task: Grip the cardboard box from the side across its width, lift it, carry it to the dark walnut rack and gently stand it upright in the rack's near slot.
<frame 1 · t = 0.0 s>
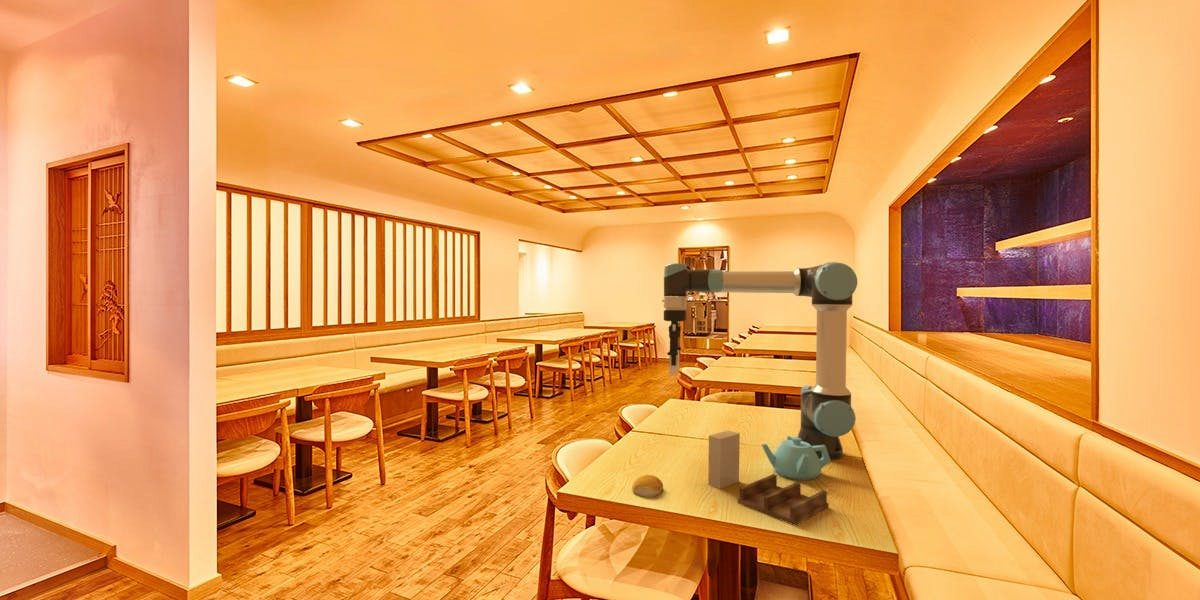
hand: (674, 372, 162), 28 cm above the table, tool pointing down, fingers open, 13 cm apart
bread roll: (647, 492, 132), on the table
teapot: (795, 473, 147), on the table
walnut rack: (782, 505, 124), on the table
cardboard box: (723, 483, 138), on the table
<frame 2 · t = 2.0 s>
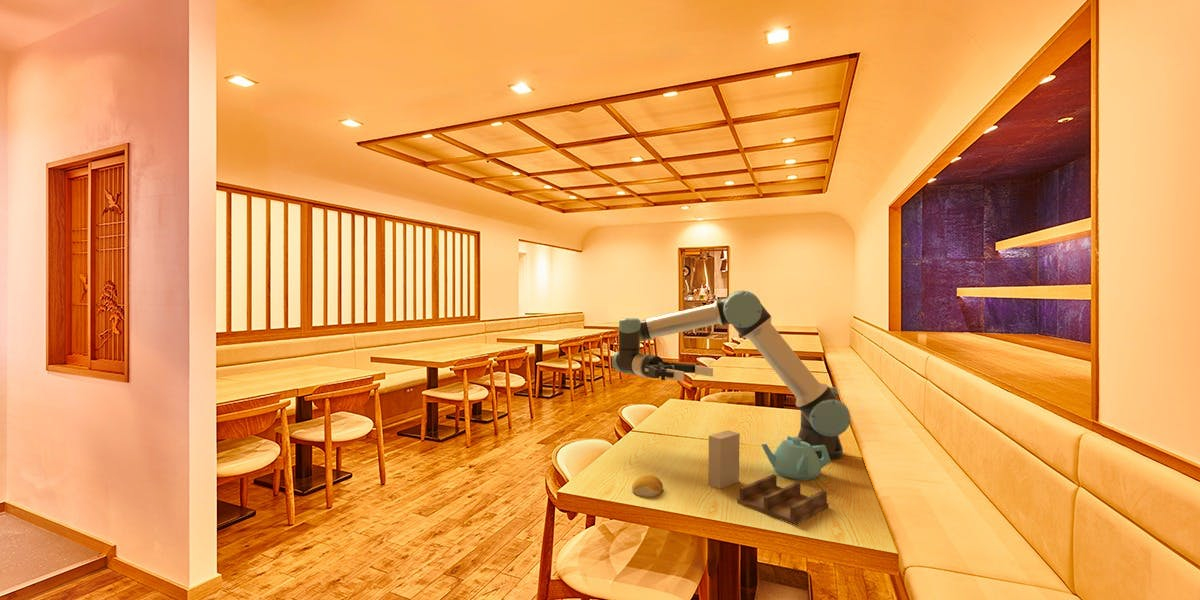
hand: (698, 374, 146), 30 cm above the table, tool horizontal, fingers open, 13 cm apart
nothing on the table moved.
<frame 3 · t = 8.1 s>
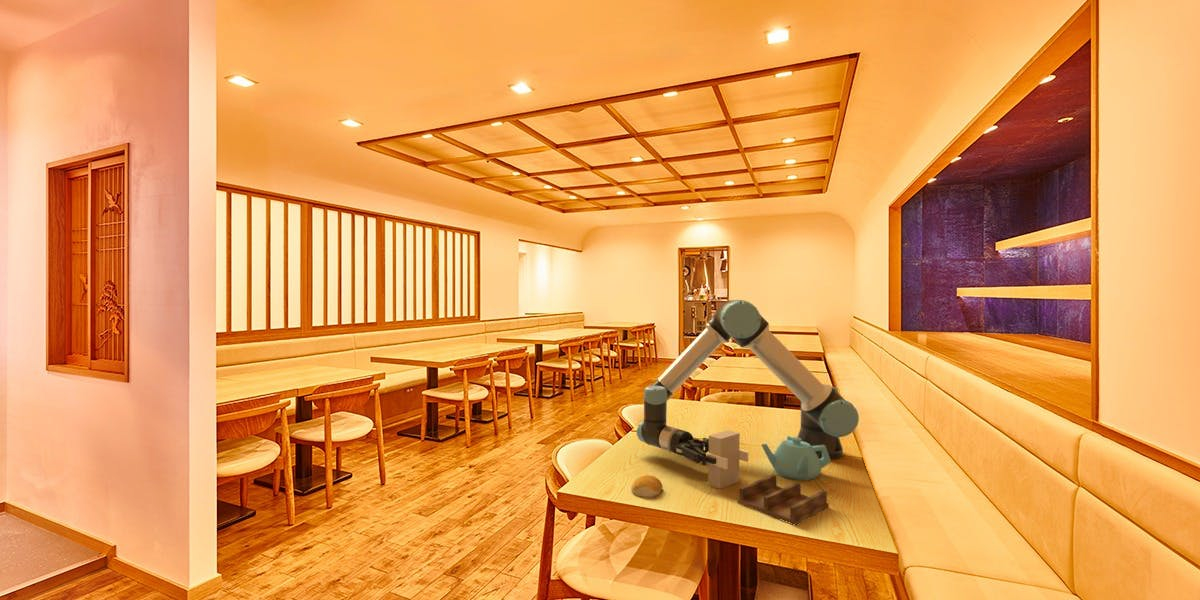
hand: (737, 460, 135), 8 cm above the table, tool horizontal, fingers closed on cardboard box, 9 cm apart
cardboard box: (723, 482, 138), on the table, touching gripper
everything else where it was.
when the fingers open (10 cm above the table, at t = 13.6 s): cardboard box drops 1 cm, resting on walnut rack.
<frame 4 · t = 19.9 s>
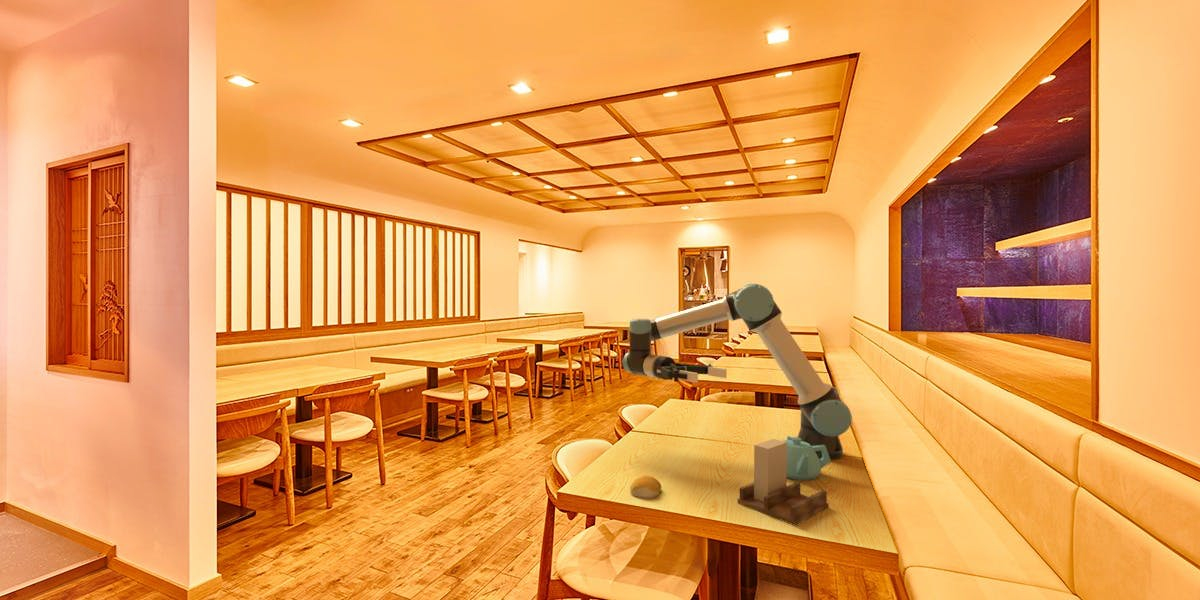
hand: (711, 375, 143), 30 cm above the table, tool horizontal, fingers open, 13 cm apart
cardboard box: (770, 496, 127), point 1 cm above the table, touching walnut rack
at the end: cardboard box inside the target area on the walnut rack (0.2 cm from its centre), point 1.0 cm above the walnut rack's base; cardboard box tilted 0°; the gripper is holding nothing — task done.
